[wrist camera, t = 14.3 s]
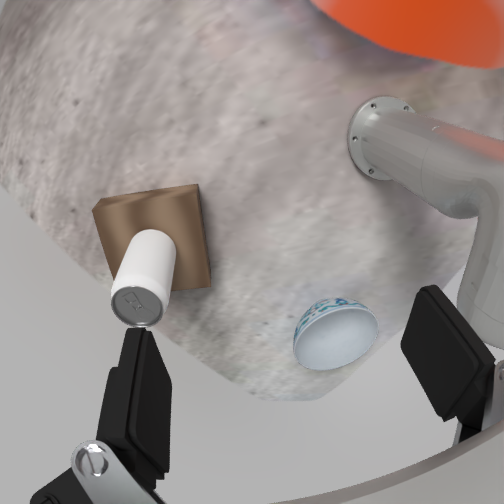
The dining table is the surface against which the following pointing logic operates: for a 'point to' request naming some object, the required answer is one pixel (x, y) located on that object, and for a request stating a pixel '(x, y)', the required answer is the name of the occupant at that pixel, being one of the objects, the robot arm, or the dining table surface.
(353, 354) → the chinaware
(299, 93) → the dining table surface
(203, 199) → the dining table surface
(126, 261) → the can
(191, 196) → the base
